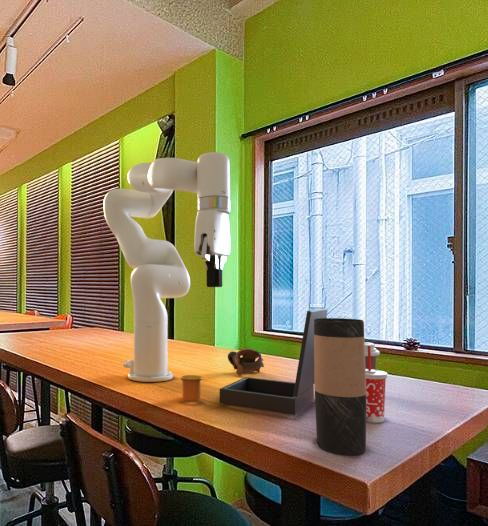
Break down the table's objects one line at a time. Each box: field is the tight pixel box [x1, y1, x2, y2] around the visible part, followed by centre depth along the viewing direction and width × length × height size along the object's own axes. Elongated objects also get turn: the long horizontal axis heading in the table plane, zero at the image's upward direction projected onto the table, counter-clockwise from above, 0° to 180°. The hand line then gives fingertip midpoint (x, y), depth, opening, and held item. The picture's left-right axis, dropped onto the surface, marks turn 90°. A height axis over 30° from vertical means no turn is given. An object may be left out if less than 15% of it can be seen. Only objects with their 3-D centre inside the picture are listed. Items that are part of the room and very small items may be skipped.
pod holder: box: [219, 376, 315, 416], centre depth 94 cm, size 16×15×4 cm
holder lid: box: [293, 307, 329, 397], centre depth 90 cm, size 17×15×1 cm
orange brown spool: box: [180, 374, 203, 402], centre depth 96 cm, size 5×5×6 cm
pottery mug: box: [227, 348, 265, 378], centre depth 128 cm, size 12×10×8 cm
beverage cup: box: [366, 345, 388, 424], centre depth 85 cm, size 6×6×14 cm
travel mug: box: [314, 317, 367, 456], centre depth 70 cm, size 8×8×20 cm
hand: (214, 286), depth 100 cm, fingers closed
